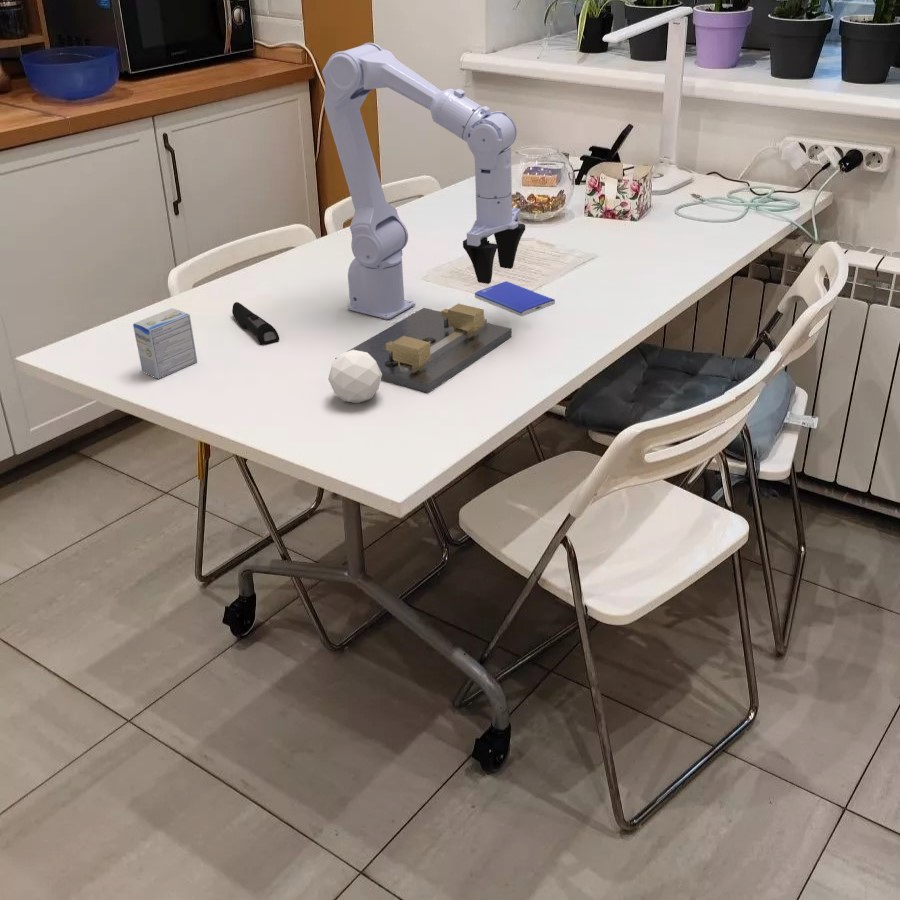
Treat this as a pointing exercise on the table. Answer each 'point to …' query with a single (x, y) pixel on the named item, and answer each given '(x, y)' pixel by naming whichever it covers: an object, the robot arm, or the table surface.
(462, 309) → the block
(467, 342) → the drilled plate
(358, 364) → the ball
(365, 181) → the robot arm
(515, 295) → the hard drive
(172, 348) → the medicine box
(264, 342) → the electric trimmer
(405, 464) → the table surface
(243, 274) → the table surface
